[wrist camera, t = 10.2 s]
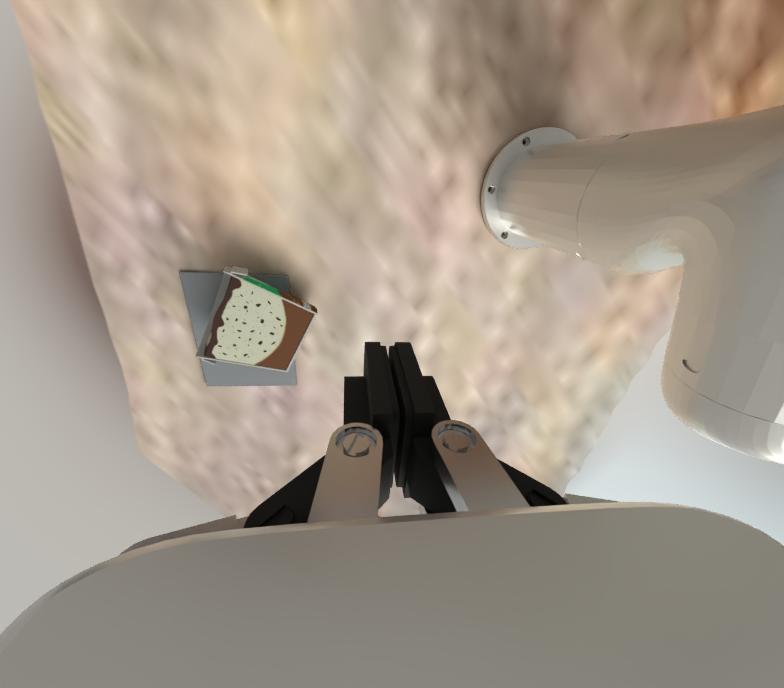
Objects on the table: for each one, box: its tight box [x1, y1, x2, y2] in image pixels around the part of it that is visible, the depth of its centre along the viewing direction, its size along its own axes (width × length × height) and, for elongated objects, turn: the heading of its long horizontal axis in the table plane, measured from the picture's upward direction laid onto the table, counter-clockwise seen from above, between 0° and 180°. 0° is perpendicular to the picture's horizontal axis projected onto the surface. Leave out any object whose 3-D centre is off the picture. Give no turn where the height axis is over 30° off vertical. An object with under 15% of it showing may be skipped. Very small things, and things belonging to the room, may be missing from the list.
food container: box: [196, 266, 317, 372], centre depth 38 cm, size 12×6×10 cm
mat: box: [179, 271, 297, 386], centre depth 41 cm, size 12×16×1 cm
